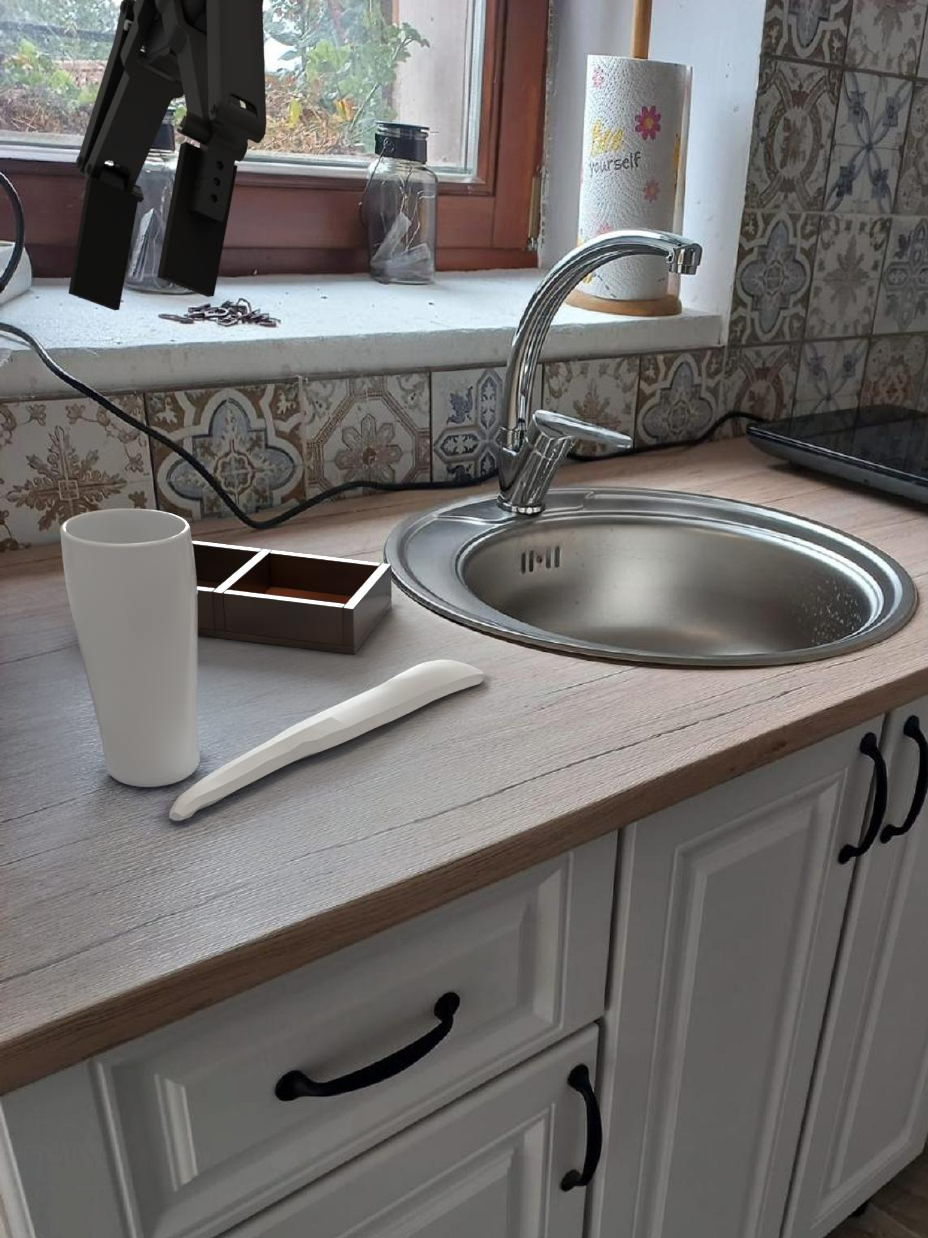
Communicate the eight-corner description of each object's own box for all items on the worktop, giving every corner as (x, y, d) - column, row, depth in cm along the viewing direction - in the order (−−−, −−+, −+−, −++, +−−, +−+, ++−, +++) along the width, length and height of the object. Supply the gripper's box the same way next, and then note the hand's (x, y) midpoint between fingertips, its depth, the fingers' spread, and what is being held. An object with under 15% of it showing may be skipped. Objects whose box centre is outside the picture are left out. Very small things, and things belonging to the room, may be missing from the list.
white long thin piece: (191, 828, 69) (183, 787, 68) (139, 814, 71) (131, 774, 70) (491, 685, 90) (488, 653, 89) (445, 677, 92) (442, 646, 91)
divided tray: (88, 622, 93) (82, 575, 91) (149, 577, 102) (144, 534, 100) (354, 654, 92) (353, 608, 90) (391, 606, 101) (391, 564, 99)
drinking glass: (146, 809, 71) (115, 554, 63) (68, 772, 73) (29, 523, 66) (237, 767, 76) (218, 527, 68) (161, 734, 79) (134, 500, 71)
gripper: (390, -146, 59) (303, 307, 62) (183, -19, 77) (122, 328, 80) (243, -253, 54) (156, 247, 57) (58, -91, 72) (-2, 283, 74)
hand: (136, 295), depth 68 cm, fingers open, 13 cm apart
